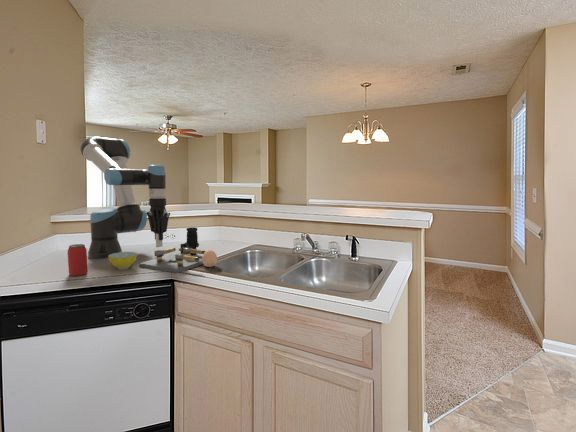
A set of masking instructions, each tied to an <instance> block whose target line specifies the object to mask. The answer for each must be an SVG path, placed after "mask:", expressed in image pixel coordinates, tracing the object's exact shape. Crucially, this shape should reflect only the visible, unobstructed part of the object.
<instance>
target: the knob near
mask: <svg viewBox="0 0 576 432" xmlns="http://www.w3.org/2000/svg"><path fill="white" fill-rule="evenodd" d="M174 252H176V247H170V248H166V249H163V250H162V249H161V250H160V249H159V250H154V254H153V255H154V257H156V259H157V262H162V257H164V256H165V255H166V254H170V253H174Z"/></svg>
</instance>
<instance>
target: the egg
mask: <svg viewBox="0 0 576 432" xmlns="http://www.w3.org/2000/svg"><path fill="white" fill-rule="evenodd" d="M204 251H205V253H204V254H202V257H201V259H202V262H203V264H202V265H204V266H205V267H206V268H207V267H208V268H212V267H214V266H215V265H216V264H217V262H218V255H217V253H216V252H215V251H214V250H212V249H208V250H204Z"/></svg>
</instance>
